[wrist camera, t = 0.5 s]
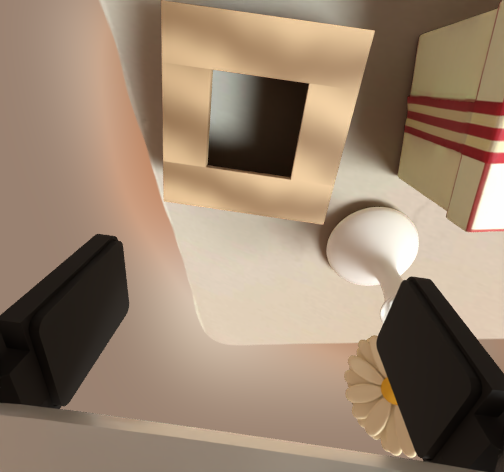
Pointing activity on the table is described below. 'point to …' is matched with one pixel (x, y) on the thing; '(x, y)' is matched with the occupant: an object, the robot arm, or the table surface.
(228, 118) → the table surface
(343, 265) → the flower in vase
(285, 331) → the table surface
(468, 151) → the gift box
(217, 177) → the drop box
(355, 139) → the table surface
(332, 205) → the table surface
